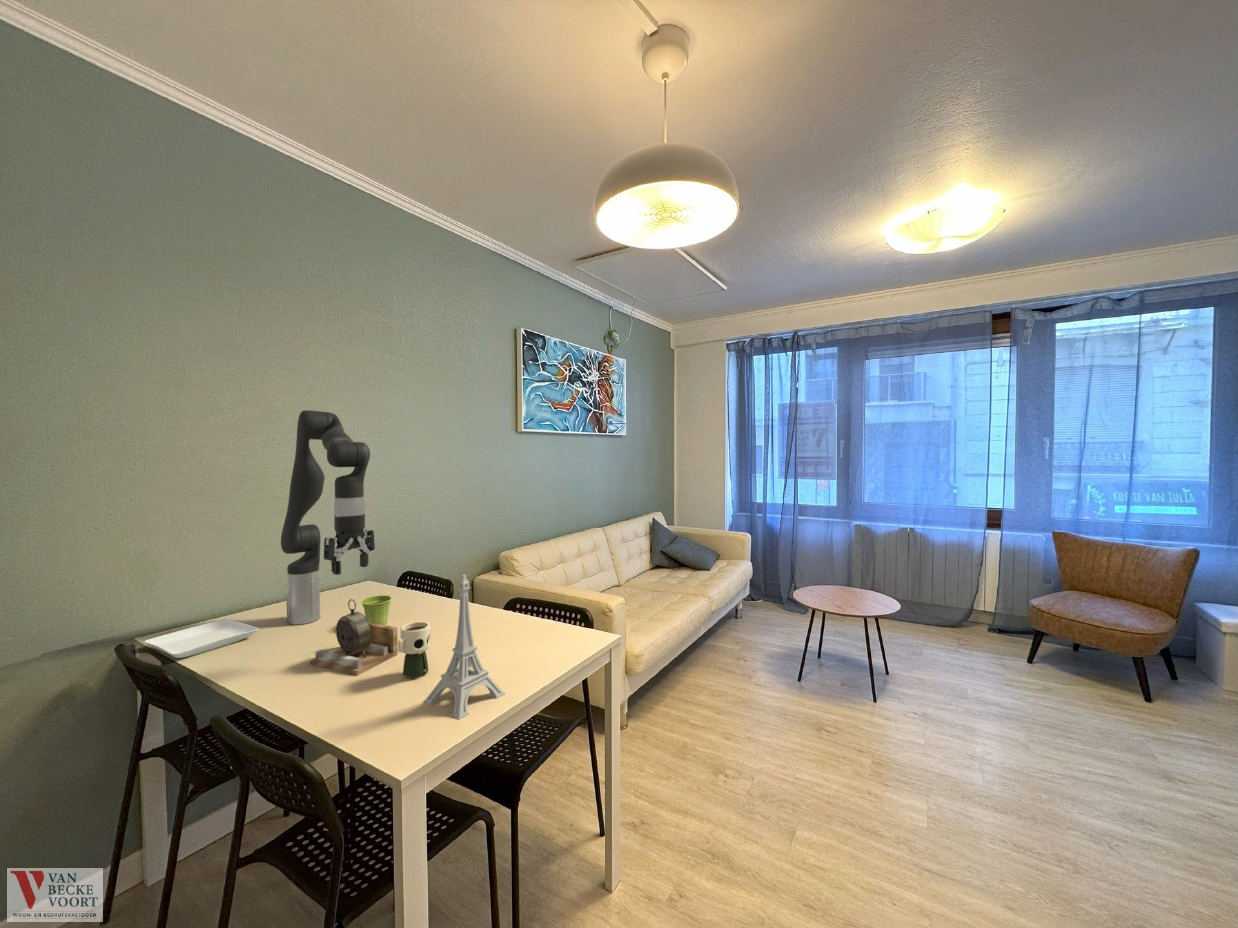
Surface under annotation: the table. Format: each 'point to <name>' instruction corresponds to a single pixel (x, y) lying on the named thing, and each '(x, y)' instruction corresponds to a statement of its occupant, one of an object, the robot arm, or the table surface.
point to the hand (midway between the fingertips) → (350, 570)
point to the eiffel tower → (464, 663)
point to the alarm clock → (353, 632)
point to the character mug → (415, 647)
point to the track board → (376, 653)
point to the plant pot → (377, 608)
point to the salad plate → (201, 638)
